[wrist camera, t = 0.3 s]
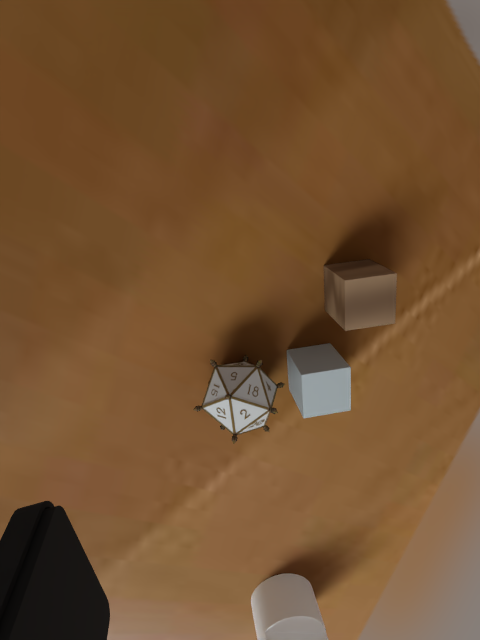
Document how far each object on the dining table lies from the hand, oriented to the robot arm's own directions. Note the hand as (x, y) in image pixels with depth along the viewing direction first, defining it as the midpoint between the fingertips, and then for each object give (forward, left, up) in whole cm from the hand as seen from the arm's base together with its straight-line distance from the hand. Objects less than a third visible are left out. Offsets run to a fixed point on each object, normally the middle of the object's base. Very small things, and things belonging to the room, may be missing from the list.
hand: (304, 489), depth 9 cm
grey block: (+17, +10, -36) cm, 41 cm away
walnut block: (+8, +14, -36) cm, 39 cm away
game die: (+17, +1, -36) cm, 39 cm away
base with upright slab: (+53, +4, -36) cm, 64 cm away
